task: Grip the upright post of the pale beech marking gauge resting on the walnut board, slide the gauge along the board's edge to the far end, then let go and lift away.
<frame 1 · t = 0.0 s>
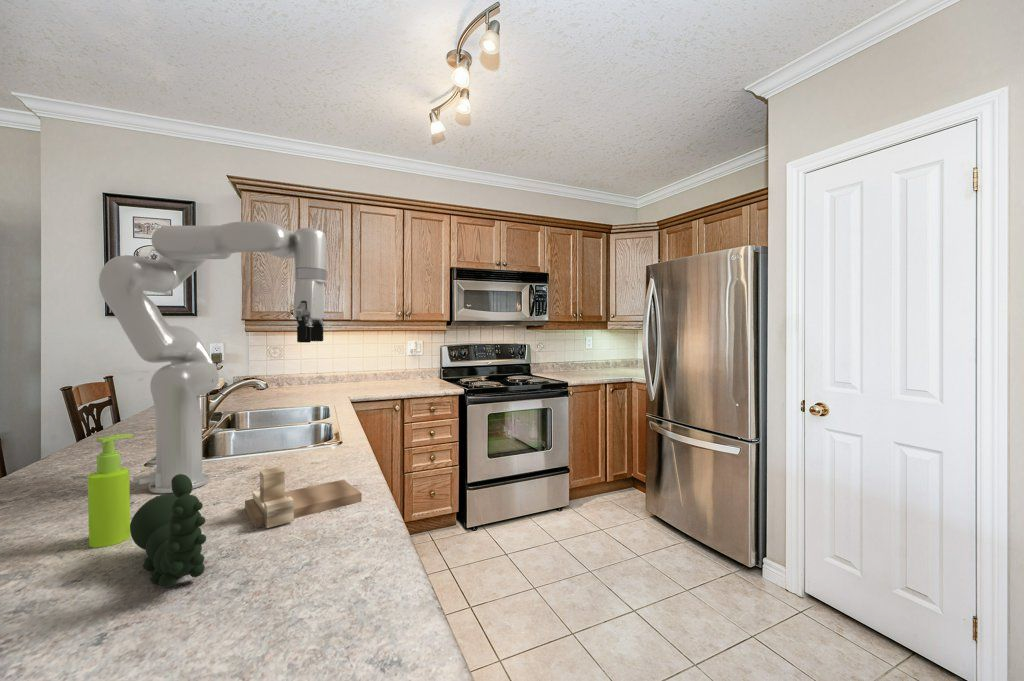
hand: (310, 341, 117), 37 cm above the counter, tool pointing down, fingers open, 9 cm apart
marking gauge: (272, 492, 96), point 5 cm above the counter, slide at 0.0 cm
soap dispenser: (113, 540, 85), on the counter
toy figurine: (171, 569, 75), on the counter
walnut board: (304, 505, 102), on the counter
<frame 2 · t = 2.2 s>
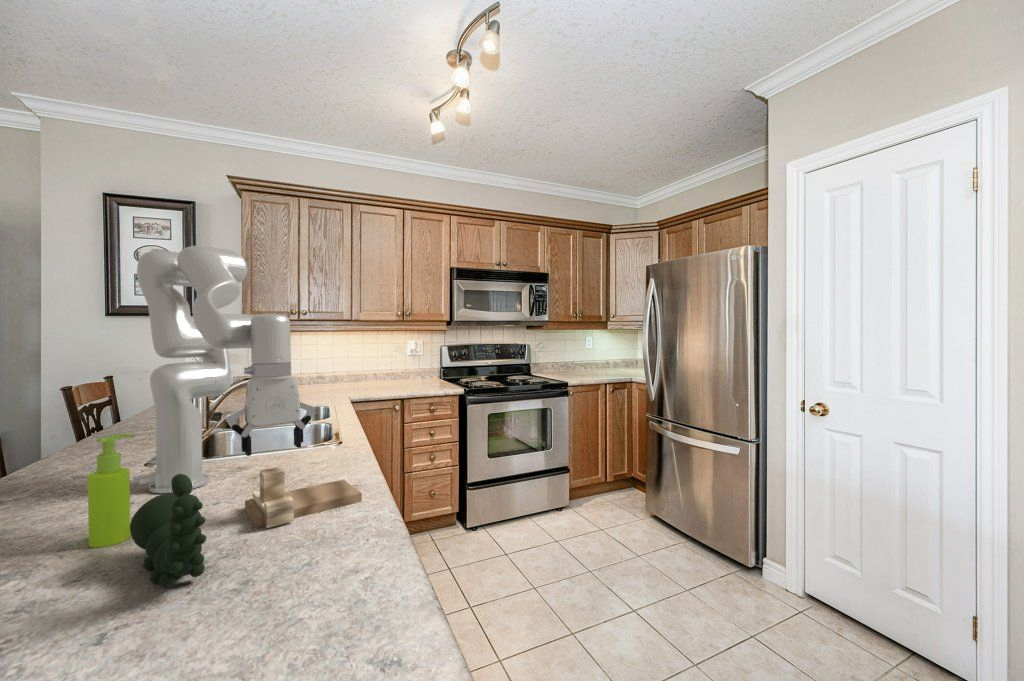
hand: (273, 450, 96), 14 cm above the counter, tool pointing down, fingers open, 9 cm apart
nothing on the counter moved.
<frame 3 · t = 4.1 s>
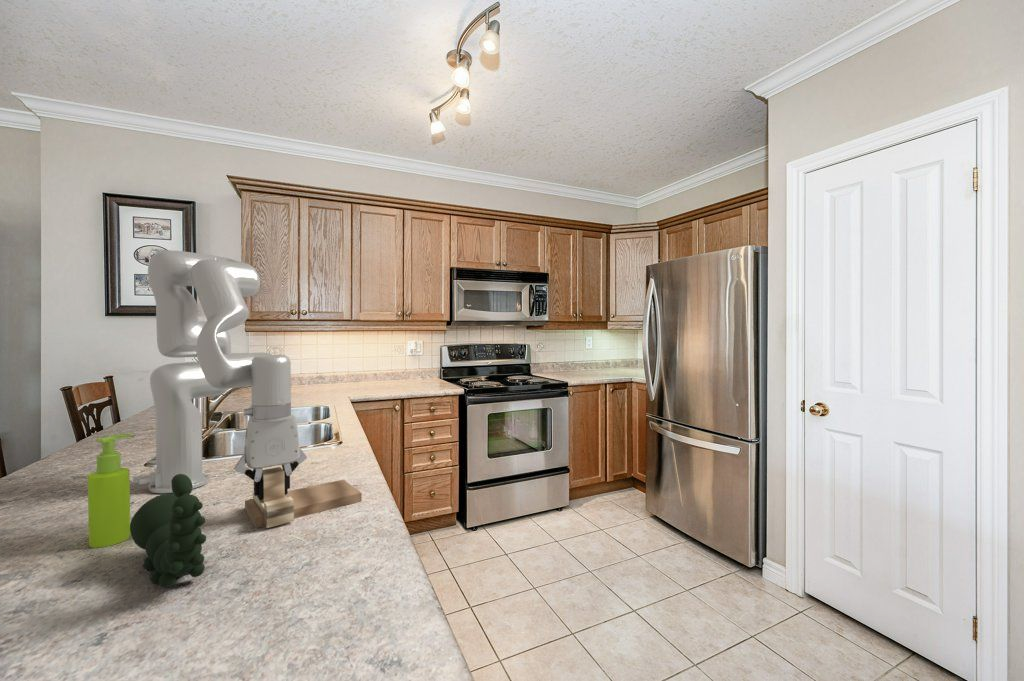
hand: (272, 494, 96), 5 cm above the counter, tool pointing down, fingers closed on marking gauge, 4 cm apart
marking gauge: (272, 492, 96), point 5 cm above the counter, slide at 0.0 cm, touching gripper
everything else where it was.
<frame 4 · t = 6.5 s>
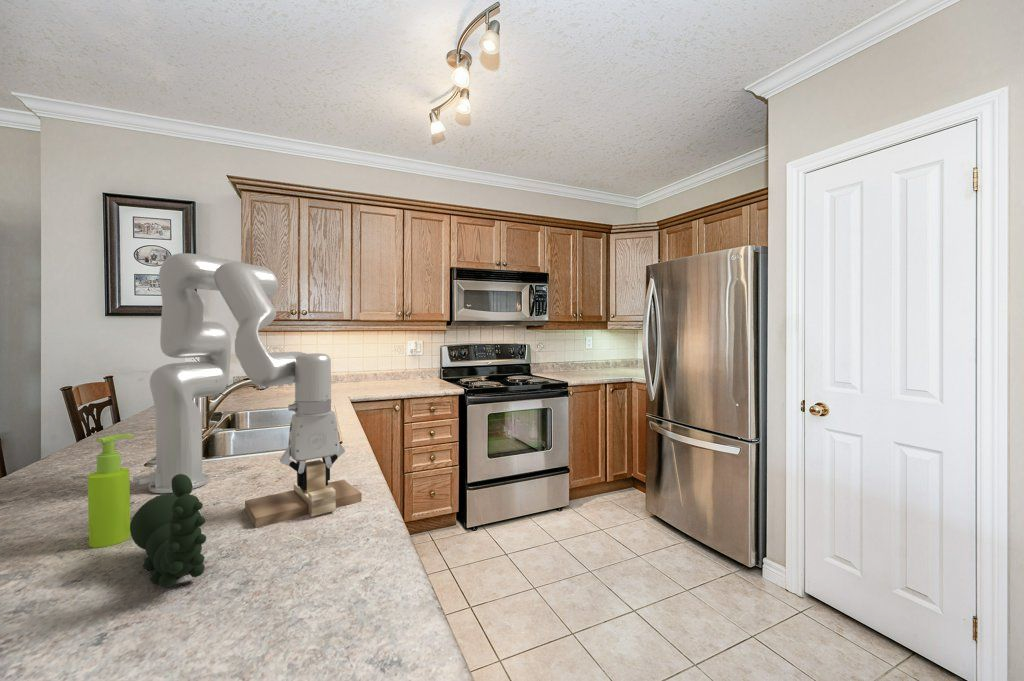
hand: (313, 485, 102), 5 cm above the counter, tool pointing down, fingers closed on marking gauge, 4 cm apart
marking gauge: (313, 483, 102), point 5 cm above the counter, slide at 8.6 cm, touching gripper
everything else where it was.
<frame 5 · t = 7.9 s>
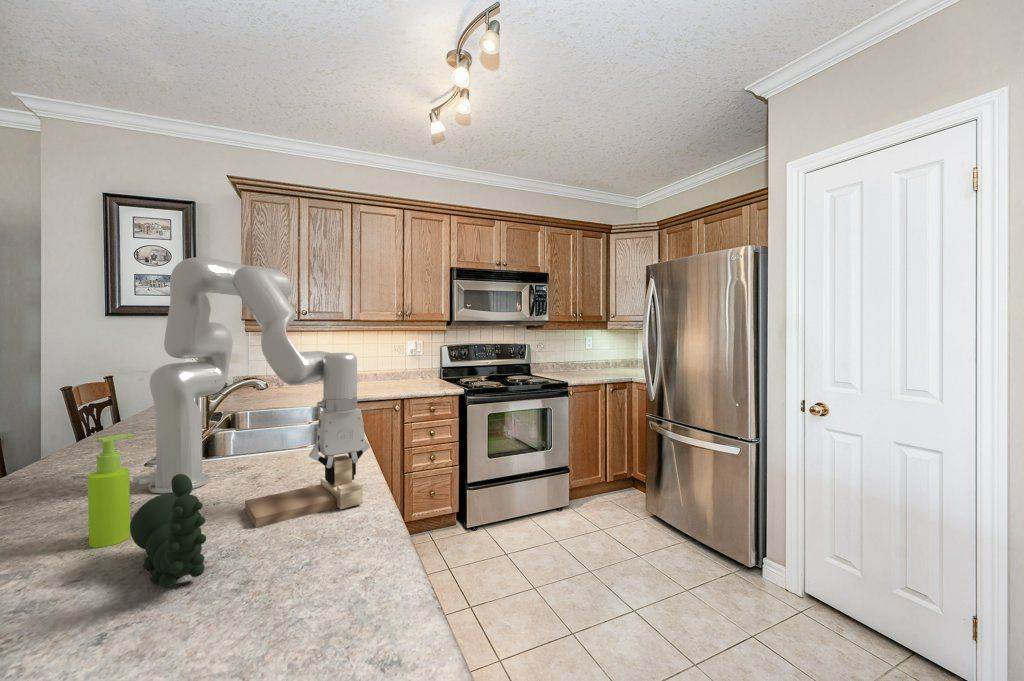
hand: (340, 479, 106), 5 cm above the counter, tool pointing down, fingers closed on marking gauge, 4 cm apart
marking gauge: (340, 477, 106), point 5 cm above the counter, slide at 14.7 cm, touching gripper
everything else where it was.
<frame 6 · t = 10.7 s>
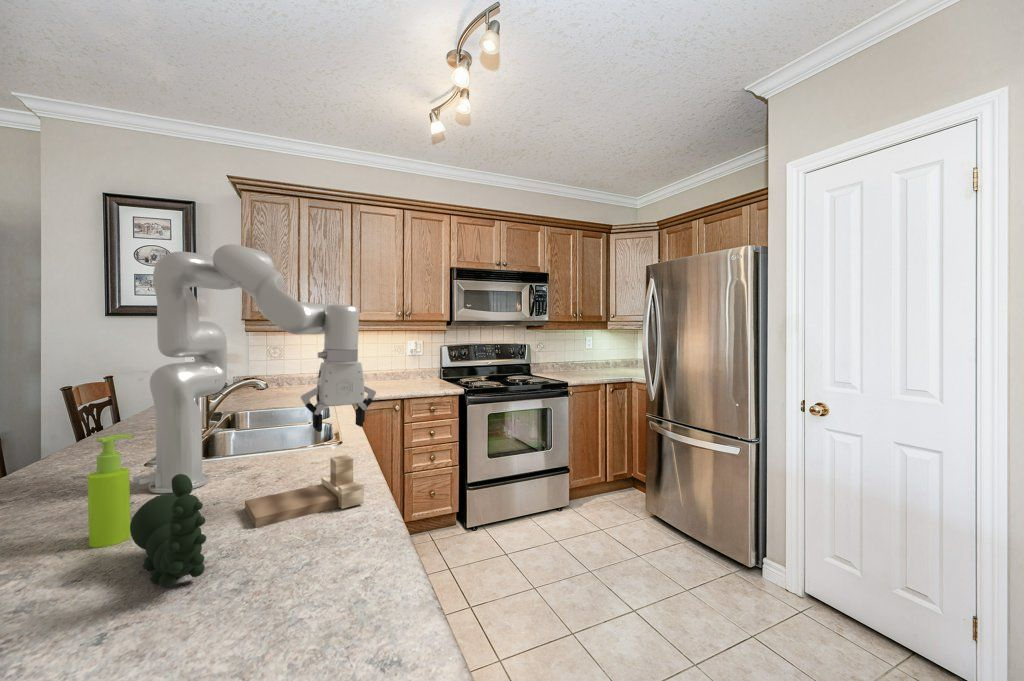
hand: (339, 428, 106), 17 cm above the counter, tool pointing down, fingers open, 9 cm apart
marking gauge: (341, 477, 106), point 5 cm above the counter, slide at 15.0 cm
everything else where it was.
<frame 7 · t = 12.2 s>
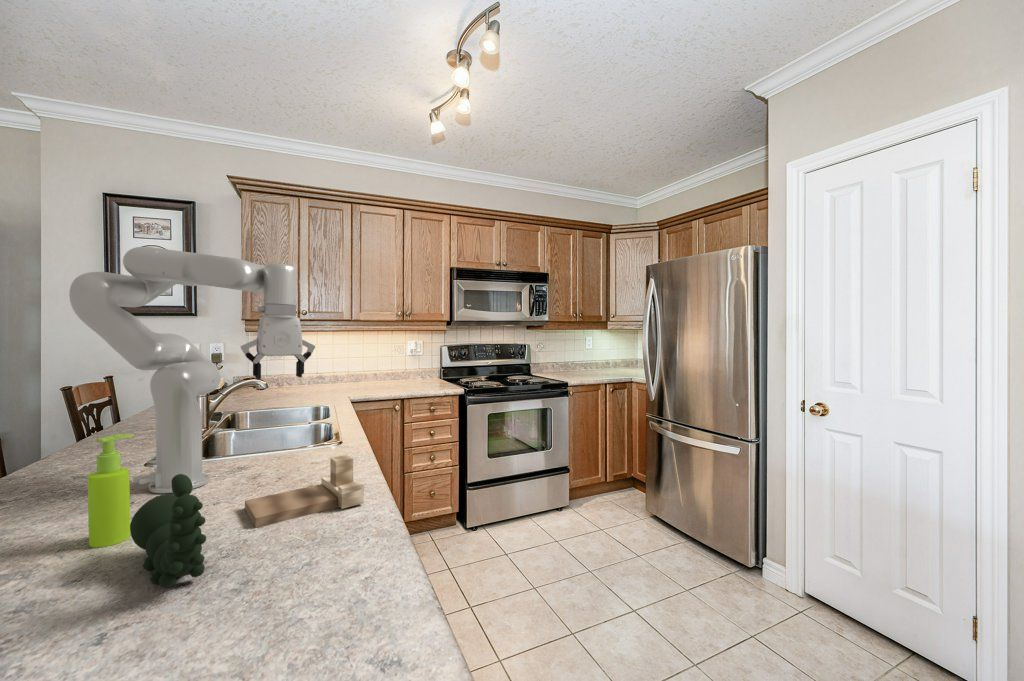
hand: (279, 377, 115), 28 cm above the counter, tool pointing down, fingers open, 9 cm apart
nothing on the counter moved.
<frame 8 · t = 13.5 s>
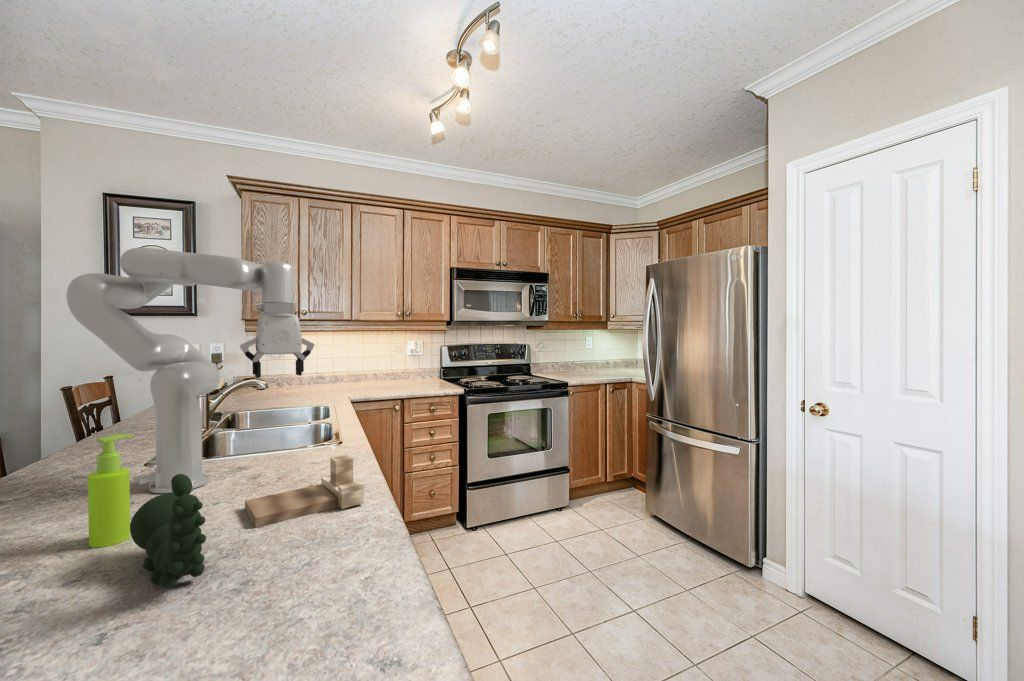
hand: (278, 376, 115), 28 cm above the counter, tool pointing down, fingers open, 9 cm apart
nothing on the counter moved.
at the end: marking gauge slide at 15.0 cm; the gripper is holding nothing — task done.
